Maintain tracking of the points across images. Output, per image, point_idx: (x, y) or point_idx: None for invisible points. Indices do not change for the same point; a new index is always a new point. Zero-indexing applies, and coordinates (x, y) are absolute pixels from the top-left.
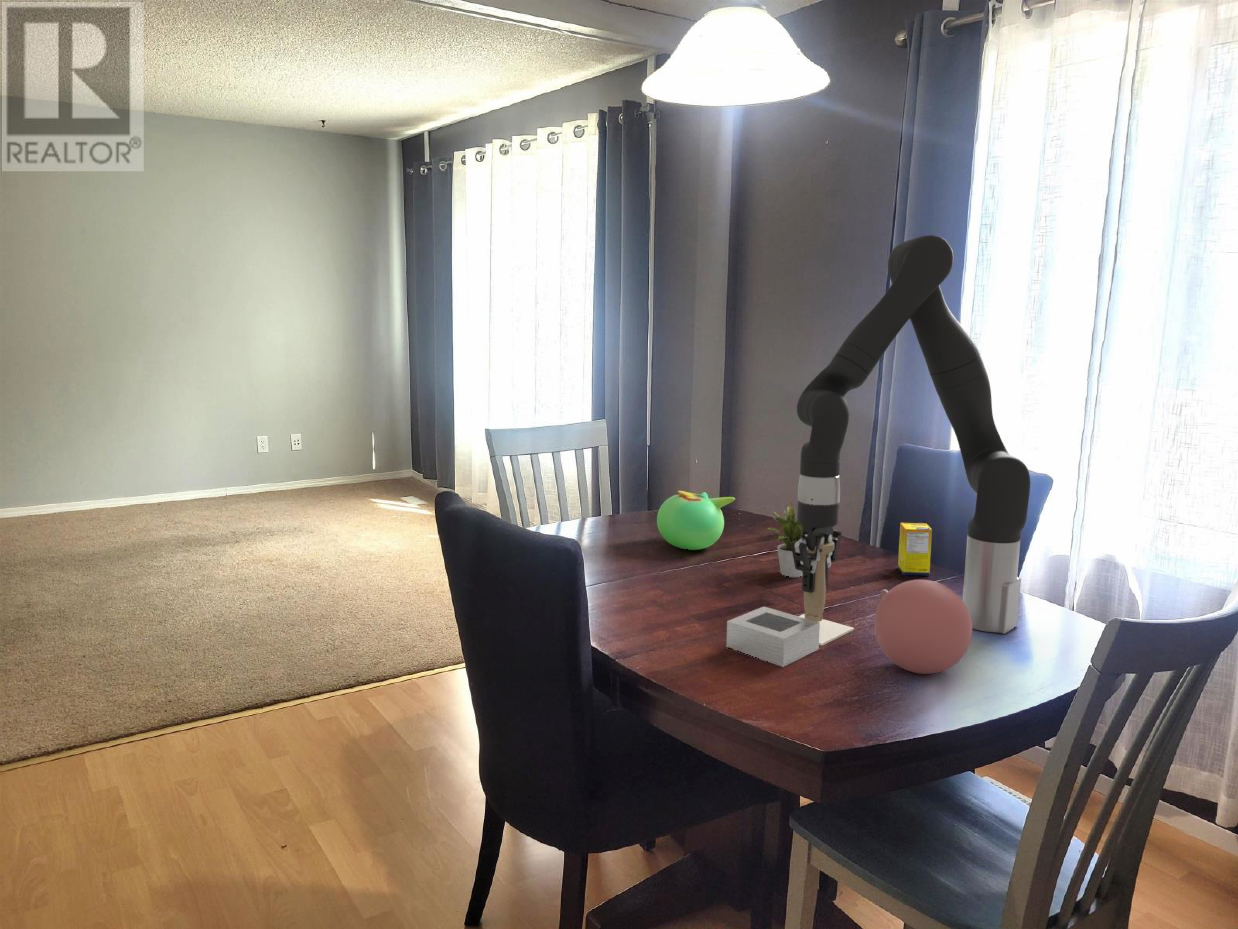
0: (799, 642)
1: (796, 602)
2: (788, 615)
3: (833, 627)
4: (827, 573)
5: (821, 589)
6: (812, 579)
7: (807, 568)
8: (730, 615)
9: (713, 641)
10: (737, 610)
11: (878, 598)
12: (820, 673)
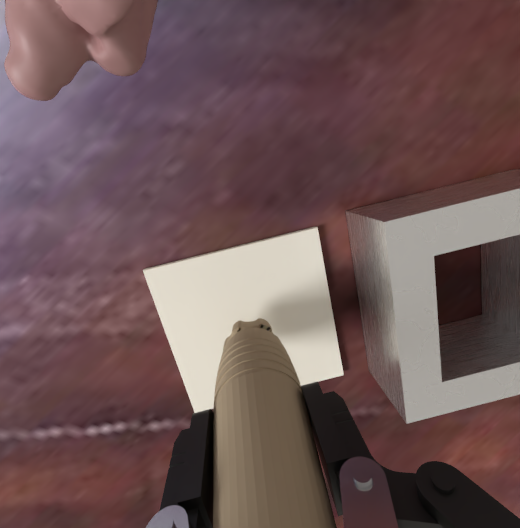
0: (481, 188)
1: (143, 484)
2: (412, 329)
3: (196, 303)
4: (189, 468)
5: (267, 382)
6: (337, 430)
7: (457, 489)
8: None
9: None
10: None
11: (141, 63)
12: (476, 74)
